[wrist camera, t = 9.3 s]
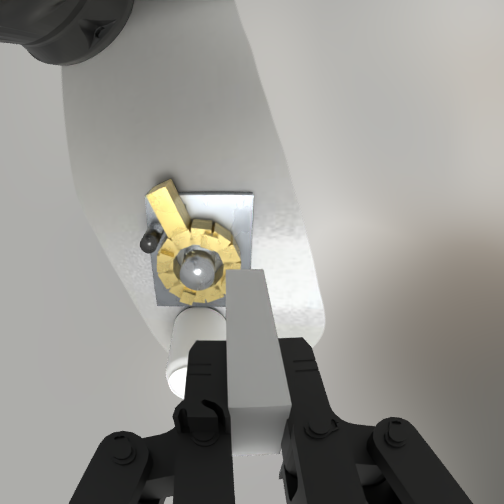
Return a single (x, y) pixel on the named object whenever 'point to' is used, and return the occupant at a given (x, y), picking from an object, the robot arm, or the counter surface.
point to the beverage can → (190, 342)
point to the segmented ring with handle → (189, 244)
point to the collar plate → (217, 212)
